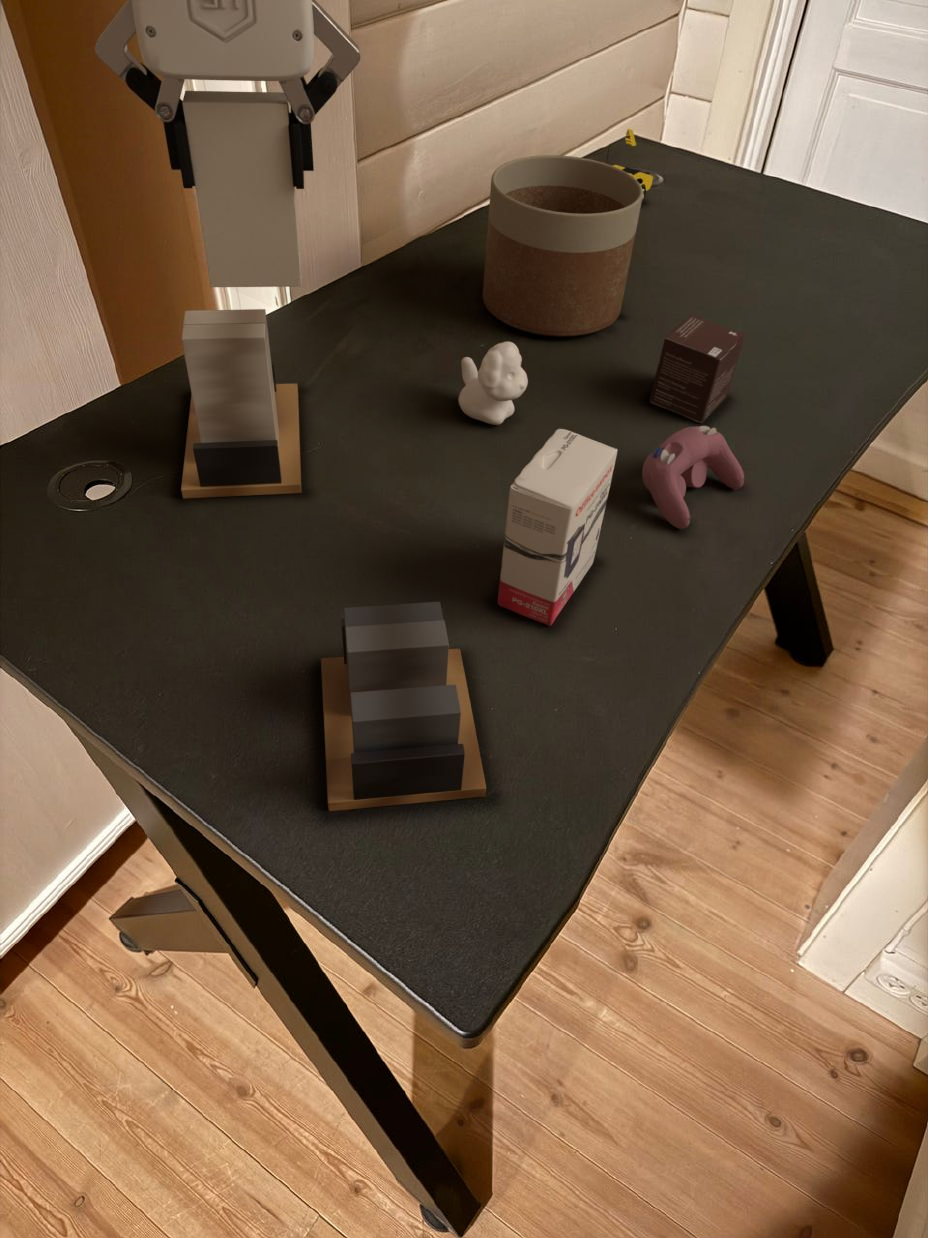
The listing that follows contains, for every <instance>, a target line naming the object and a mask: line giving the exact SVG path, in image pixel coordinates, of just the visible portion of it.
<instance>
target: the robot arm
mask: <svg viewBox="0 0 928 1238" xmlns="http://www.w3.org/2000/svg"><path fill="white" fill-rule="evenodd" d="M135 34H136V38H137V45H138V48H139V53H140V56H141V59H142V60H141V61H142V62H140V61H139V60H138V59H136V58H135V55H133V53H132V52H131V51H130V50H129V48H128V43H129V42H131V39H132V38H133V37H134V36H135ZM315 38H317V39H318V40H319V41H320V42H321V43H322V44H323V45H324V46H325V47H326V48H327V49H328V50H329V52H330V53H331V55H330V56H329V58H328V60H327V62H326V63H325V64H324V65H323V67H321V68H320V69H318V71H317V72H315V73H316V74H315V75H314V76H313V77H312V78H311V79H310V80H309V82H307V79H306V78H305V76H306V75H307V74H308V73H310V71H311V69H312V68H313V63H314V60H315V59H314V58H315ZM94 52H95V55H96V57H98V58H99V59H100V60H101V61H102V62H103V63H104V64H105V66H107V67H108V68H109V69H110V70H111V71H112V72H113V73H114V74H115V75H117V76H118V77H119V78H120V79H122V80H123V81H124V82H125V83H126V86H127V87H128V88H129V89H130V90H131V91H132V92H133V93H134V94H135V95H136V96H137V97H138V98H140V100H142V101H143V103H145V104H146V105H147V106H148V107H149V108H151V109H152V110H153V111H154V114H155V115H156V117H157V118H158V119H159V121H161V122H162V124H163V129H164V133H165V134H164V135H165V136H164V137H165V140H166V147H167V153H168V159H169V164H170V165H169V166H170V168H171V170H172V171H180V176H181V180H182V187H183V189H193V187H195V181H194V174H193V168H192V161H191V155H190V148H189V142H188V135H187V129H186V123H185V117H184V111H183V105H182V102H183V99H182V98H181V95H182V92H183V89H184V84H185V81H186V80H194V81H195V80H196V81H232V82H233V81H234V82H235V81H236V82H237V81H239V82H278V83H279V85H280V87H281V89H282V92H283V93H285V95H286V98H287V100H288V105H290V111H289V125H288V128H289V141H290V154H291V166H292V179H293V187H295V190H304V189H305V172H314V171H315V169H314V168H315V167H314V151H313V135H312V122H314V120H315V118H316V115H317V114H318V113H319V112H320V110H321V109H322V108H324V106H325V105H326V104H327V102H329V100H330V99H332V97H333V96H334V95H335V94H336V91H338V88H339V87H340V85H341V84H342V83H343V82H344V81H345V80H346V79H347V78H348V76H349V75H350V74H351V73H352V71H354V69H355V68H356V67H357V66H358V64H359V62H360V61H361V51H360V47H359V46H358V44H357V43H356V42H355V41H354V40H353V38H352V37H351V36H349V35H348V33H347V32H346V31H345V30H344V29H343V28H342V26H340V25H339V24H338V23H337V22H336V20H335V19H334V18H333V17H332V16H331V15H330V14H329V13H328V12H327V11H326V10H325V9H324V8H323V6H322V5H321V4H320V3H319V2H318V1H317V0H126V2H124V5H123V6H122V7H121V9H120V10H119V11H118V12H117V14H116V15H115V16H114V18H113V19H112V20H111V21H110V23H109V24H108V25H107V27H105V28H104V30H103V32H102V33H101V34H100V35H99V37H98V38H97V40H96V42H95V45H94ZM157 75H158V76H161V77H162V79H160V78H159V77H158V76H157Z"/></svg>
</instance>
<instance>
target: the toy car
mask: <svg viewBox="0 0 928 1238" xmlns="http://www.w3.org/2000/svg"><path fill="white" fill-rule="evenodd" d="M634 134H635V133H634V130H633V129H630V128H627V130H626V133H625V139H624V140H625V145H628V146H631V147H635V146H637V143H636V139H635V135H634ZM628 136H629V138H628ZM609 152H610V148H608V150H607V153H609ZM608 159H609V154H607V156H606V160H608ZM605 163H606V164H608V161H606V162H605ZM612 166H614V167H616V168H619V169H621V170H623V171H625V172H626V173H628V174H630V175H631V176H632V177H634V178H635V179H636V180H637V181H638V182H639V184H640V185H641V187H642V190H643V197H642V202H641V204H642V203H643V202H644V199H645V197H646V194H647V191H650V189H651V187H652V185H653V181H654V176H653V175H651V174H648V173H644V172H641V170H637V169H634V168H631V167H627V166H625V167H624V166H621V165H617V164H614V165H612Z"/></svg>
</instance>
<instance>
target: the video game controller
mask: <svg viewBox="0 0 928 1238" xmlns="http://www.w3.org/2000/svg"><path fill="white" fill-rule="evenodd" d="M708 468H709V469H710V470H711V471H712V472H713V473H714V475H715V476H716V477H717V478H718V479H719V480H720V481H721V482H722V483H723V484H725V486H726V487H728V488H730V489H732V490H735V491H736V490H739V489H741V488H742V487H743V486H744V483H745V474H744V470H743V468H742V466H741V464H740V462H739V461H738V460H737V457H735V455H734V453H733V452H732V450H731V448H730V447H729V445H728V443H727V441H726V439H725V437H724V435H723V434H722V433H720V432H719V431H717V428H716V427H709V426H708V425H701V426H699V425H698V426H697V425H696V426H687V427H684V428H681V429H680V430H677V431H676V432H674V433H673V434H671V435H670V436H668V437H667V439H665V440H664V441H663V442H662V443H661V444H660V445H659V447H658V448H657V449H656V450H655V451H653V452H651V453H650V454H649V455H648V456H647V457H646V458H645V460H644V461H643V466H642V470H641V471H642V472H641V474H642V475H641V476H642V481H643V485H644V487H645V488H646V489H647V490H648V491H649V493H650V495H651V497H652V499H653V501H654V503H655V505H656V507H657V509H658V510H659V511H660V513H661V514H662V516H663V518H665V520H666V521H667V522H668V523H669V524H670V525H672V526H673V527H675V528H676V529H679V530H684V529H687V528H688V527H689V525H690V523H691V515H690V511H689V507H688V505H687V503H686V501H685V499H684V497H685V495H686V492H687V488H701V487H702V486H703V485H704V484H705V482H706V479H707V472H708Z"/></svg>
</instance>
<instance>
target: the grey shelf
mask: <svg viewBox="0 0 928 1238" xmlns="http://www.w3.org/2000/svg"><path fill="white" fill-rule="evenodd" d="M441 605H442V604H441V601H428V602H427V601H426V602H414V603H399V604H397V603H395V604H382V605H380V604H379V605H368V606H366V605H365V606H351V607H349V606H348V607H343V617H342V618H340V619H341V622H340V623H341V637H342V638H341V639H342V653H343V654H342V655H343V656H337V657H336V656H334V657H322V658H320V667H321V669H320V670H321V686H322V687H321V690H322V707H323V708H322V710H323V729H324V749H325V751H324V752H325V753H324V754H325V768H326V774H325V775H326V791H327V792H326V793H327V807H328V812H336V811H337V812H338V811H347V810H358V809H368V808H378V807H389V806H400V805H409V804H420V803H421V804H422V803H432V802H440V801H441V802H443V801H451V800H452V801H453V800H461V799H462V800H463V799H464V800H465V799H472V798H474V799H475V798H483V797H484V798H485V797H486V794H487V784H486V778H485V774H484V768H483V763H482V758H481V751H480V747H479V742H478V736H477V732H476V731H477V730H476V726H475V720H474V715H473V710H472V704H471V699H470V694H469V687H468V683H467V677H466V673H465V668H464V663H463V657H462V651H461V648H450V644H449V638H448V631H447V627H446V621H445V619H444V617H443V611H442V606H441Z"/></svg>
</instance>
